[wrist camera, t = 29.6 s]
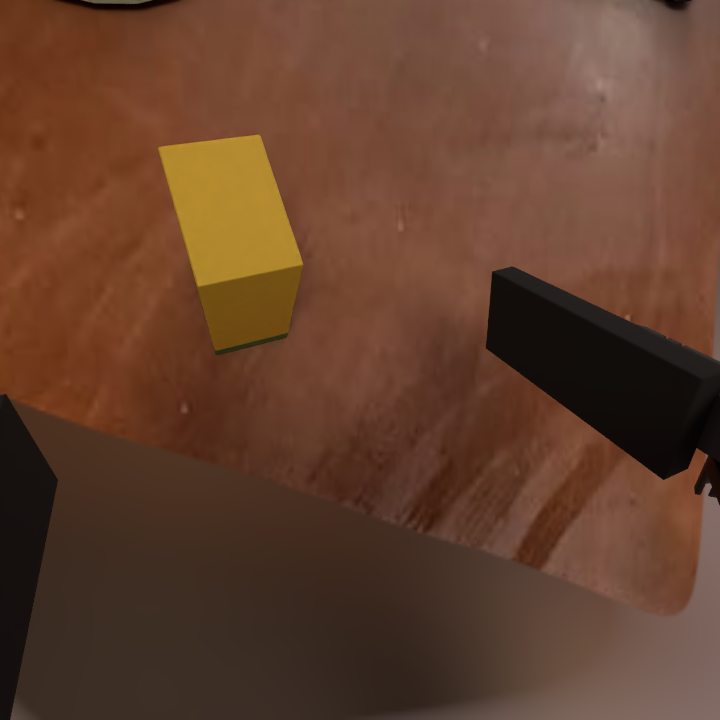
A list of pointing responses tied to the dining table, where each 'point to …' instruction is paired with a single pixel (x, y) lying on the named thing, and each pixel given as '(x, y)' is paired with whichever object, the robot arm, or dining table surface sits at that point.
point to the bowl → (117, 1)
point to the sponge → (235, 238)
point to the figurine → (681, 1)
